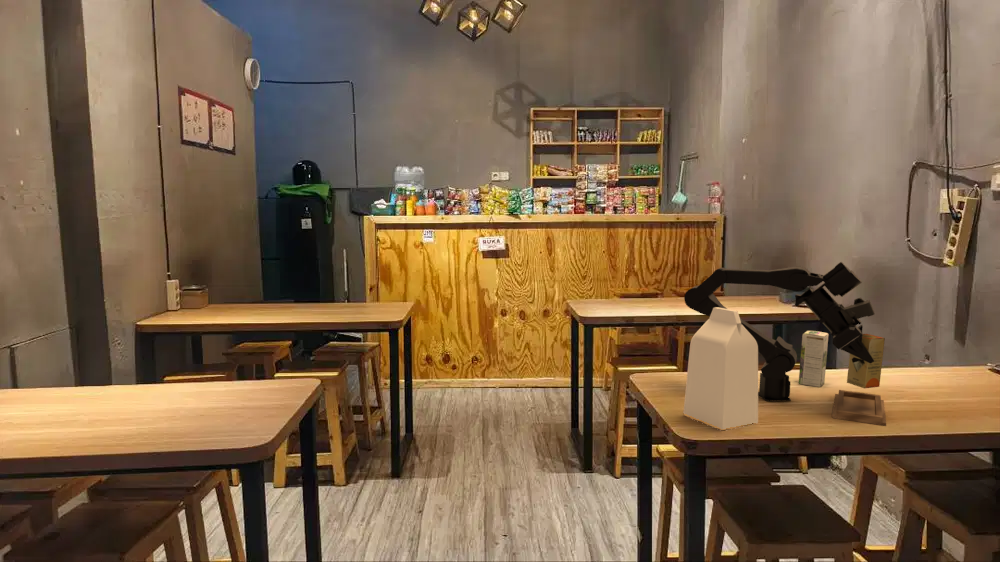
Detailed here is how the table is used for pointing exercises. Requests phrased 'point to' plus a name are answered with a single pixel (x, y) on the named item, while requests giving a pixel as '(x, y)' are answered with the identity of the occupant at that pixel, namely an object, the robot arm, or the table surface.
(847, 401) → the tray
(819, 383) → the syrup box
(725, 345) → the milk
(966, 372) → the table surface
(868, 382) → the shoe polish box
